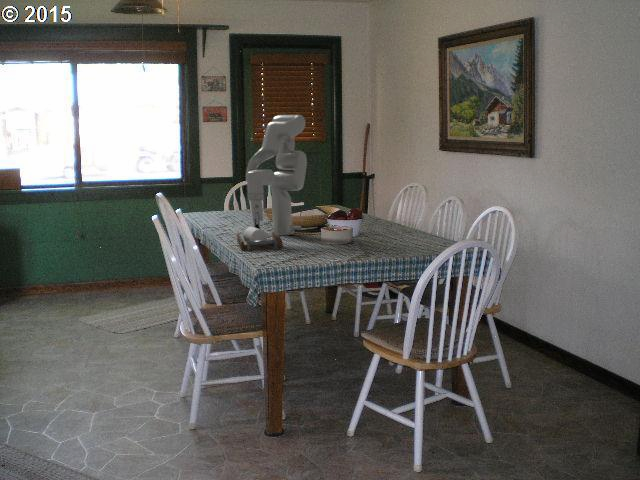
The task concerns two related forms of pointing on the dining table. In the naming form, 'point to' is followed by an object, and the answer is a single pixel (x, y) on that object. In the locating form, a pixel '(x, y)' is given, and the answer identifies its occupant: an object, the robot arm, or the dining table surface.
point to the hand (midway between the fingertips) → (256, 235)
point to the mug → (255, 234)
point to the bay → (260, 243)
